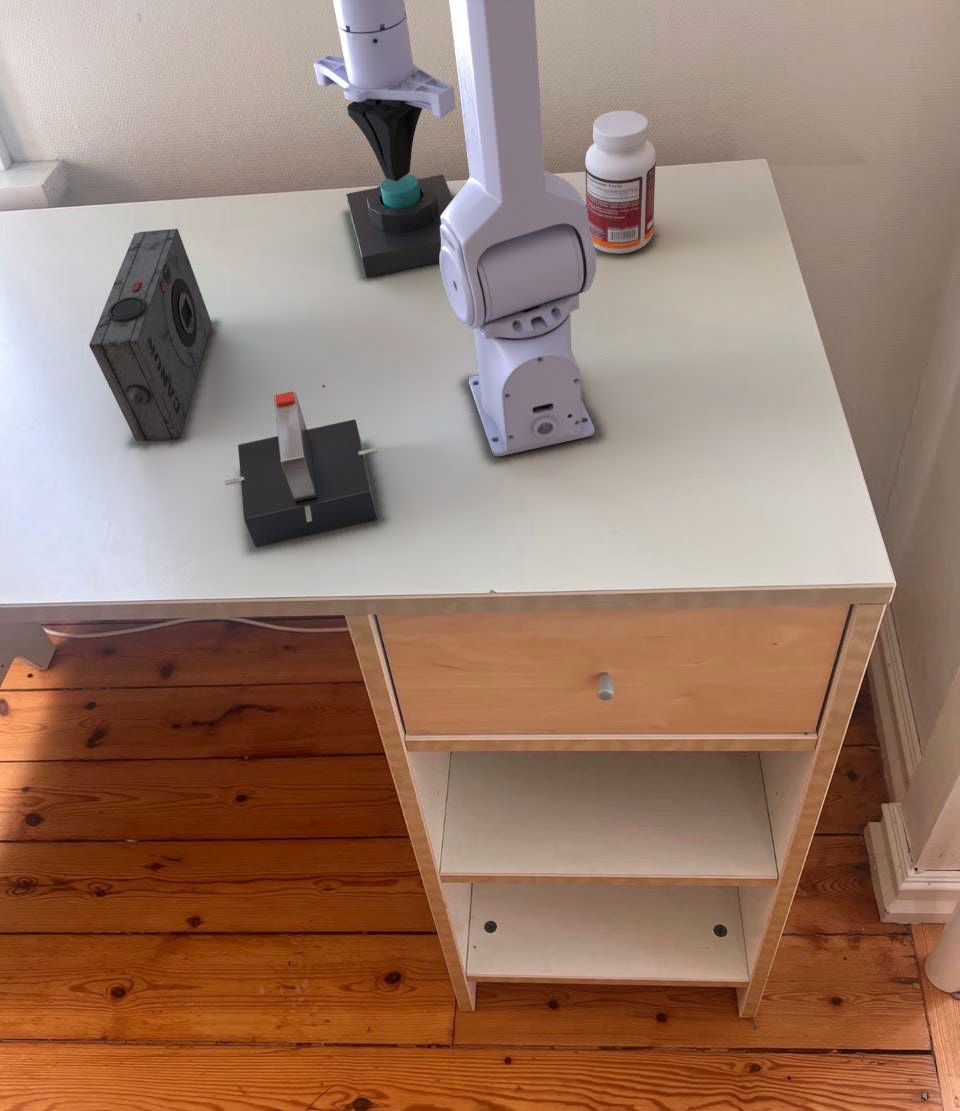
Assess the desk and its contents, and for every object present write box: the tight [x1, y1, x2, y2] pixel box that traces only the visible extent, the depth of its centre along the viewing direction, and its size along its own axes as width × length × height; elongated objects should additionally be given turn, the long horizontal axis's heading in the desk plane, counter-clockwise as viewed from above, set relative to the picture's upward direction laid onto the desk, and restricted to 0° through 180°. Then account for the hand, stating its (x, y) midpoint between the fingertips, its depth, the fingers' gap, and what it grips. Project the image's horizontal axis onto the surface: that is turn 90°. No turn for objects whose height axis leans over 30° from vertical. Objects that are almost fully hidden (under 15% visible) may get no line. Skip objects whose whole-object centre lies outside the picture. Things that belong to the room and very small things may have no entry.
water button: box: [379, 173, 421, 209], centre depth 92 cm, size 4×4×2 cm
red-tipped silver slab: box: [273, 390, 317, 502], centre depth 69 cm, size 7×2×4 cm, turn 11°
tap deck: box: [224, 419, 378, 548], centre depth 71 cm, size 11×11×3 cm
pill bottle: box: [584, 110, 657, 254], centre depth 87 cm, size 6×6×11 cm
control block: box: [345, 174, 454, 278], centre depth 93 cm, size 12×10×4 cm
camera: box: [89, 228, 213, 442], centre depth 79 cm, size 16×4×10 cm, turn 0°
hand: (398, 175), depth 90 cm, fingers closed
